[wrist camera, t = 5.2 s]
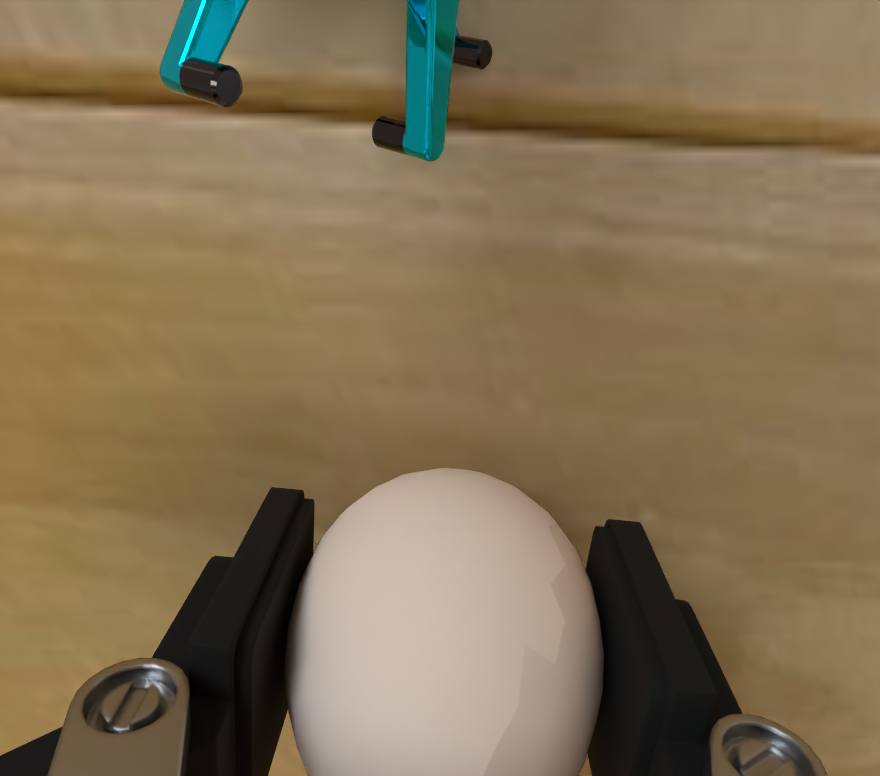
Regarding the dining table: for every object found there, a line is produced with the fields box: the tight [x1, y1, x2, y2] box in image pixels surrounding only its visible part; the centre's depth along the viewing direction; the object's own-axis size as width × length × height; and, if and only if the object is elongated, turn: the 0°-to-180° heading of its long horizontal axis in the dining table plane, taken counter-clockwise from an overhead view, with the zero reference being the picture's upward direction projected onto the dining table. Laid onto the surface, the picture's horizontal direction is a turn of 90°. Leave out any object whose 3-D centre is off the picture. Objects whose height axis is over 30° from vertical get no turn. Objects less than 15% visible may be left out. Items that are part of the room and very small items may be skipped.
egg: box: [284, 468, 604, 776], centre depth 11 cm, size 5×5×7 cm
